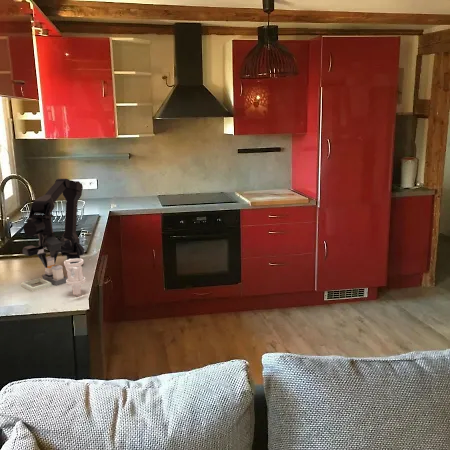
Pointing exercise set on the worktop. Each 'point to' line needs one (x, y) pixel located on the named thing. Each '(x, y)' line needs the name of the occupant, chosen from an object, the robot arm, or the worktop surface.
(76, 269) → the white tall plastic piece
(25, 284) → the tray
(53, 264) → the marked fuse
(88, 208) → the worktop surface
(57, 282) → the fuse board
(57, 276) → the block
